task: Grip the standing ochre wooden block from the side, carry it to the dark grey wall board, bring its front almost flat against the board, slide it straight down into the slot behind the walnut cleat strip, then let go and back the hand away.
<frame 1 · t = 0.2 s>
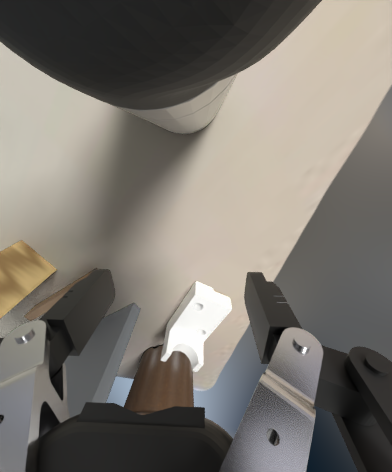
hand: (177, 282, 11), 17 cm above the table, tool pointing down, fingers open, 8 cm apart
plant pot: (167, 359, 44), on the table
bracket: (196, 308, 36), on the table
wall board: (87, 307, 36), on the table
ochre block: (31, 261, 32), on the table
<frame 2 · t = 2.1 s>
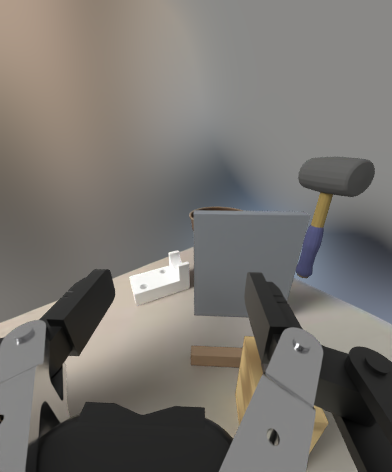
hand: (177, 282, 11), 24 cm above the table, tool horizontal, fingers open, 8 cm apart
bracket: (160, 289, 46), on the table
rubber mallet: (302, 276, 50), on the table
wall board: (241, 333, 34), on the table
ochre block: (260, 430, 22), on the table
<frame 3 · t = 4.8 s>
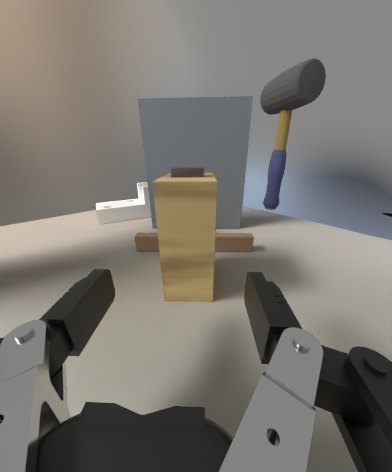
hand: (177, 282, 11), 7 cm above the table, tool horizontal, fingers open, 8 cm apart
bracket: (128, 217, 46), on the table
rubber mallet: (270, 209, 50), on the table
wall board: (195, 235, 34), on the table
ochre block: (190, 280, 22), on the table
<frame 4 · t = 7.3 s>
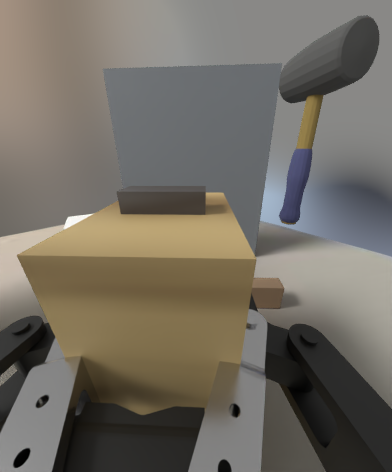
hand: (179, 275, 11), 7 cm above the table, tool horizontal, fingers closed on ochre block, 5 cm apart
rubber mallet: (287, 224, 40), on the table
wall board: (192, 271, 24), on the table
ochre block: (179, 388, 12), on the table, touching gripper
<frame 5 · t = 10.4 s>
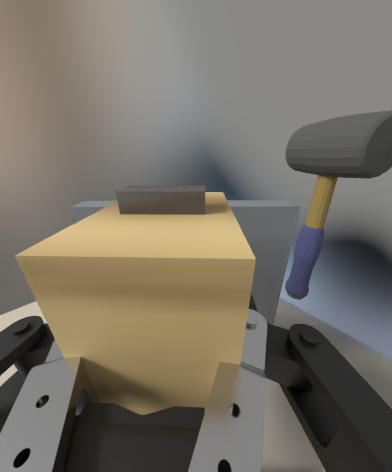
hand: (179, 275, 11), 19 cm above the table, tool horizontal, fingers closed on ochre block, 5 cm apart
rubber mallet: (294, 295, 36), on the table
wall board: (187, 413, 20), on the table
ochre block: (179, 388, 12), point 12 cm above the table, touching gripper
when the fingers open (8 cm above the table, at t = 13.8 s): ochre block drops 1 cm, on the table.
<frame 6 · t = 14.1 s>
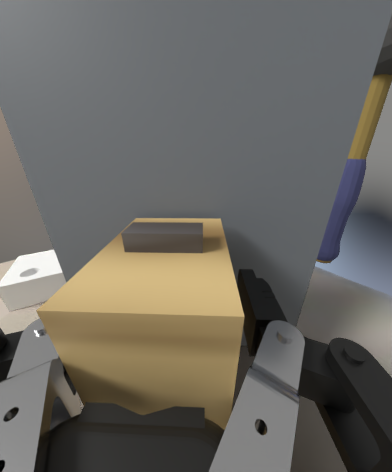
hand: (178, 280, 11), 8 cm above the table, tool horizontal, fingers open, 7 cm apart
bracket: (81, 279, 26), on the table
rubber mallet: (319, 260, 29), on the table
wall board: (181, 395, 13), on the table
ochre block: (179, 401, 12), on the table
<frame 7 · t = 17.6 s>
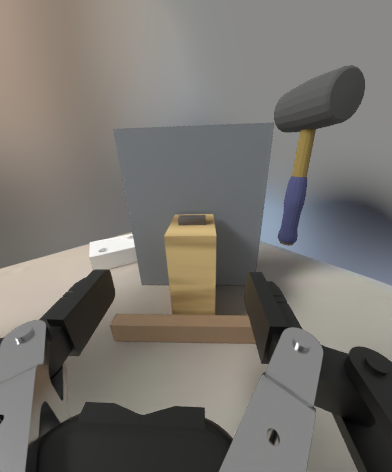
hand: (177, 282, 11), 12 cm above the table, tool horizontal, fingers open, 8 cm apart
bracket: (128, 257, 39), on the table
rubber mallet: (286, 244, 42), on the table
wall board: (196, 302, 26), on the table
ochre block: (195, 304, 25), on the table
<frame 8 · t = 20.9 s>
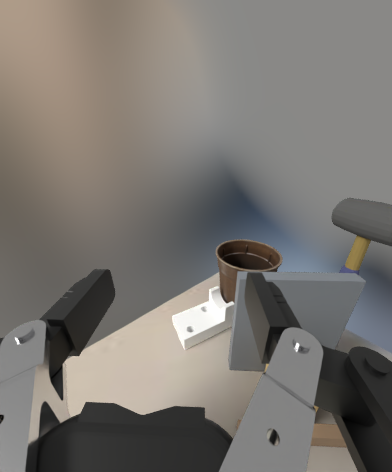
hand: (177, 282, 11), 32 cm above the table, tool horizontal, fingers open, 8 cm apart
plant pot: (241, 301, 53), on the table
bracket: (202, 327, 45), on the table
rubber mallet: (332, 314, 48), on the table
wall board: (283, 395, 32), on the table
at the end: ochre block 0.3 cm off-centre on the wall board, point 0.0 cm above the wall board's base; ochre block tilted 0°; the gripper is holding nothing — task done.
